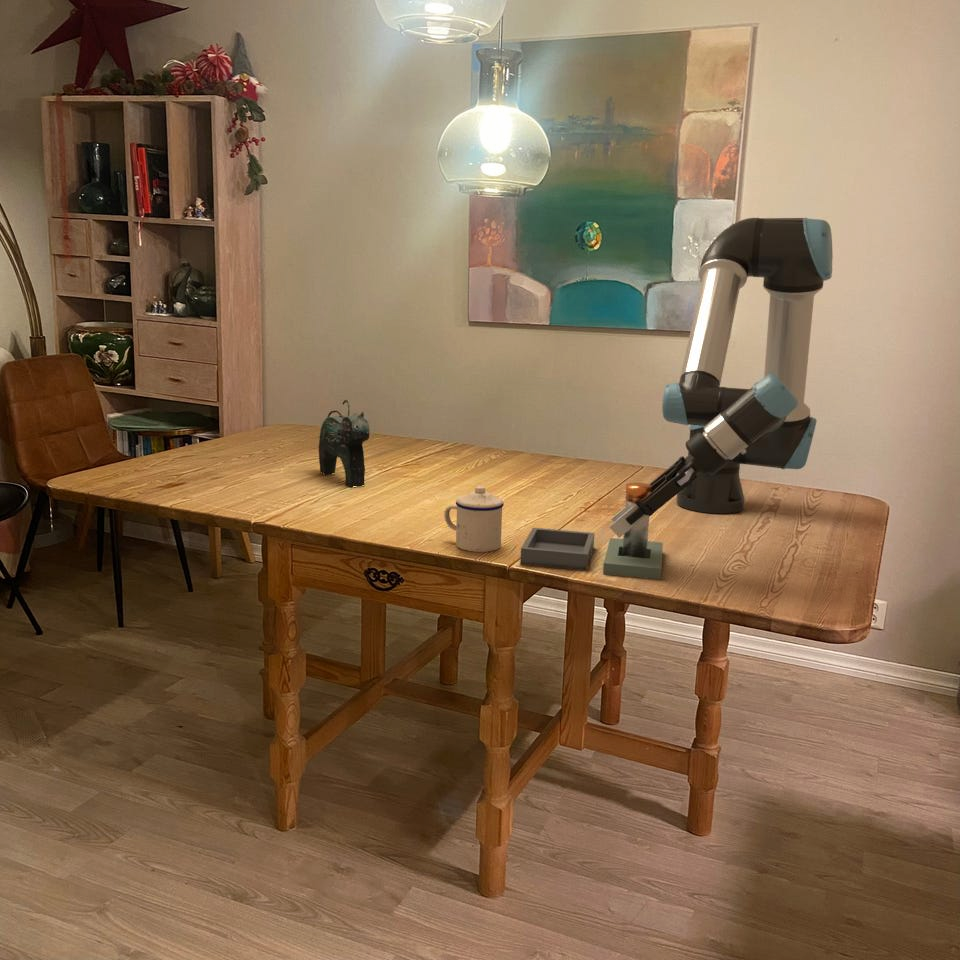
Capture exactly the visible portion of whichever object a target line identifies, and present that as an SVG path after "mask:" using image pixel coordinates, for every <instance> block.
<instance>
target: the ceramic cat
mask: <svg viewBox="0 0 960 960" xmlns="http://www.w3.org/2000/svg"><path fill="white" fill-rule="evenodd" d="M345 404H347V408H348V410H347V413H348V414H347V416H343V415H342V414H341V412H340V411H339V410H331V411H329V413H328V414H327V417H326V418H325V419H324V421H323V422H322V424H321V428H320V433H319V440H318V460H319V461H318V462H319V472H320V473H321V472H322V473H324V474H332V473H335V474H336V467H337V462H338V461H337V459H338V458H339V459H340V461H341V464H342V466H343V469H344V475H345V486H347V485H349V486H348V487H350V486H351V487H350V488H352V487H353V486H362V485H364V486H365V473H366V466H365V454H364V448H363V443H365V442H366V441H368V440H369V439H370V424H369V421H368V420H367V418H366V417H365V414H364V413H365V412H364V411H362V412H360V414H358V415H357V411H356V412H354V413H353V414H352V415H350V403H349V401H348V399H345V400H343V402H342V405H345ZM335 413H338V415H339V416H331V414H335ZM362 487H363V486H362Z"/></svg>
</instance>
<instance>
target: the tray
mask: <svg viewBox="0 0 960 960" xmlns="http://www.w3.org/2000/svg"><path fill="white" fill-rule="evenodd" d="M594 546H595V532H587V531H577V530H562V529H555V528H552V529H551V528H542V527H532V528H531V530H530V532H529V534H528V535H527V537H526V539H525V541H524V542H523V544H522V546H521V547H520V561H519V562H520V563H519V564H520V565H523V566H524V565H525V566H535V567H536V566H538V567H547V568H555V569H557V568H558V569H565V570H577V571H586V570H588V568H587V567H589V564H590V561H591V559H592V558H591V557H592V555H591V554H593V552H594V548H595V547H594ZM592 551H593V552H592Z"/></svg>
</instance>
